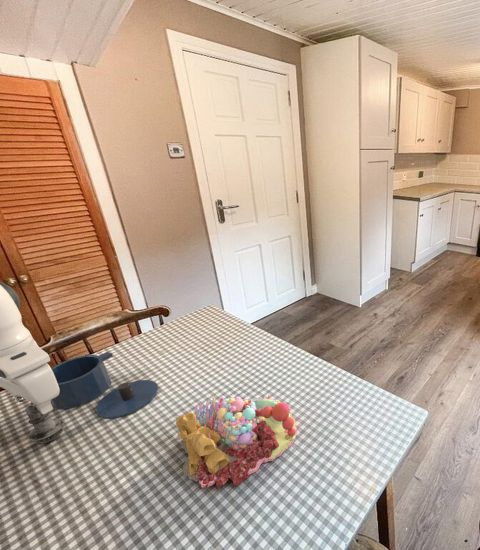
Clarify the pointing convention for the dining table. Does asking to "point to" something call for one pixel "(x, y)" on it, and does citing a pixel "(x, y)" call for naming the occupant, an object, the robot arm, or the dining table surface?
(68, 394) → the pot
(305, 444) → the dining table surface
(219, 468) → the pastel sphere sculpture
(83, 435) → the dining table surface
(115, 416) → the pot lid
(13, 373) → the robot arm
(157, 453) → the dining table surface
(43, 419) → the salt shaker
